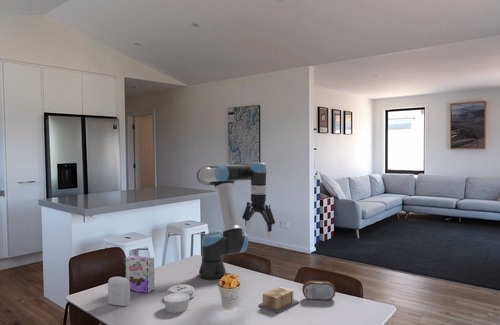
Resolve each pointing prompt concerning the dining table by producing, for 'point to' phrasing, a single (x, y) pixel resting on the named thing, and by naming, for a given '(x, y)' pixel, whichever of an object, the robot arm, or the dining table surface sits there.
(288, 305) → the charcoal mat
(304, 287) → the tin
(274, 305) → the oak block
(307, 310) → the dining table surface
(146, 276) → the candy box
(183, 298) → the ramekin
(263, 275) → the dining table surface
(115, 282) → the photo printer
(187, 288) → the lid
